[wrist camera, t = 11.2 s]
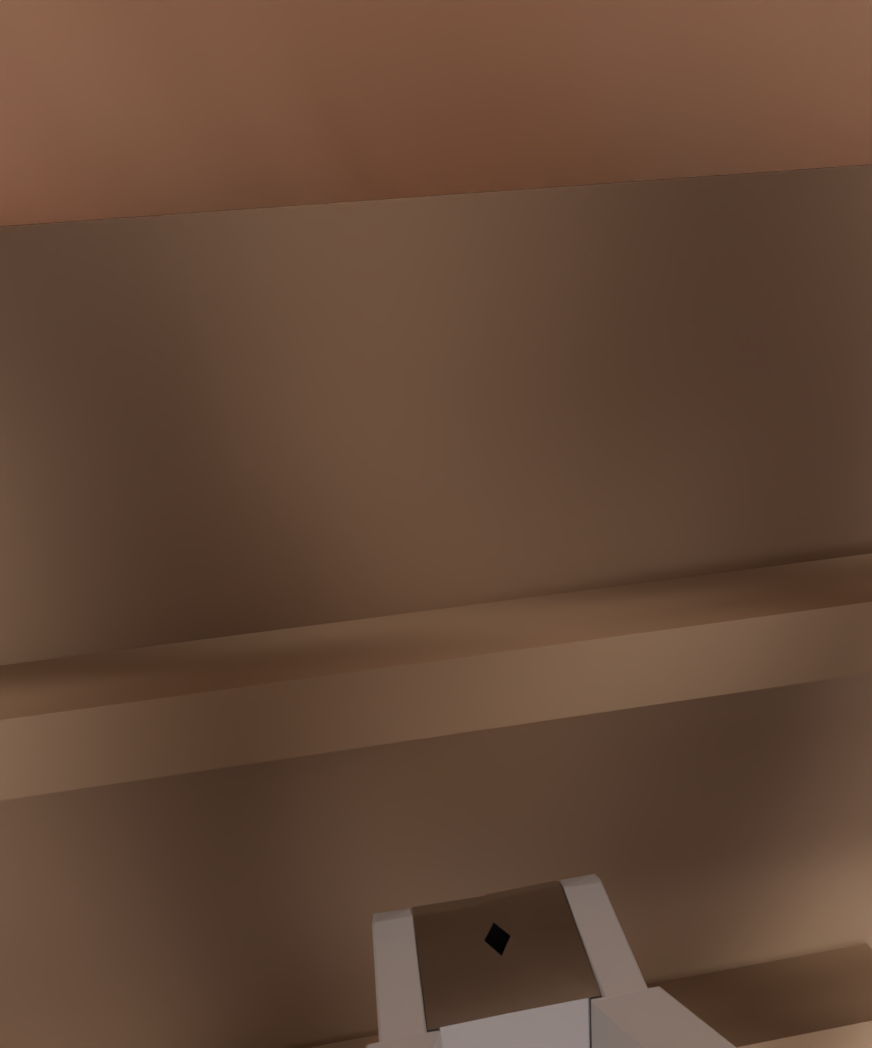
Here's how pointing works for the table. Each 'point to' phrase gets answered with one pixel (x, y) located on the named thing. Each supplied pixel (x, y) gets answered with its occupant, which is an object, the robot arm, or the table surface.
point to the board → (436, 599)
